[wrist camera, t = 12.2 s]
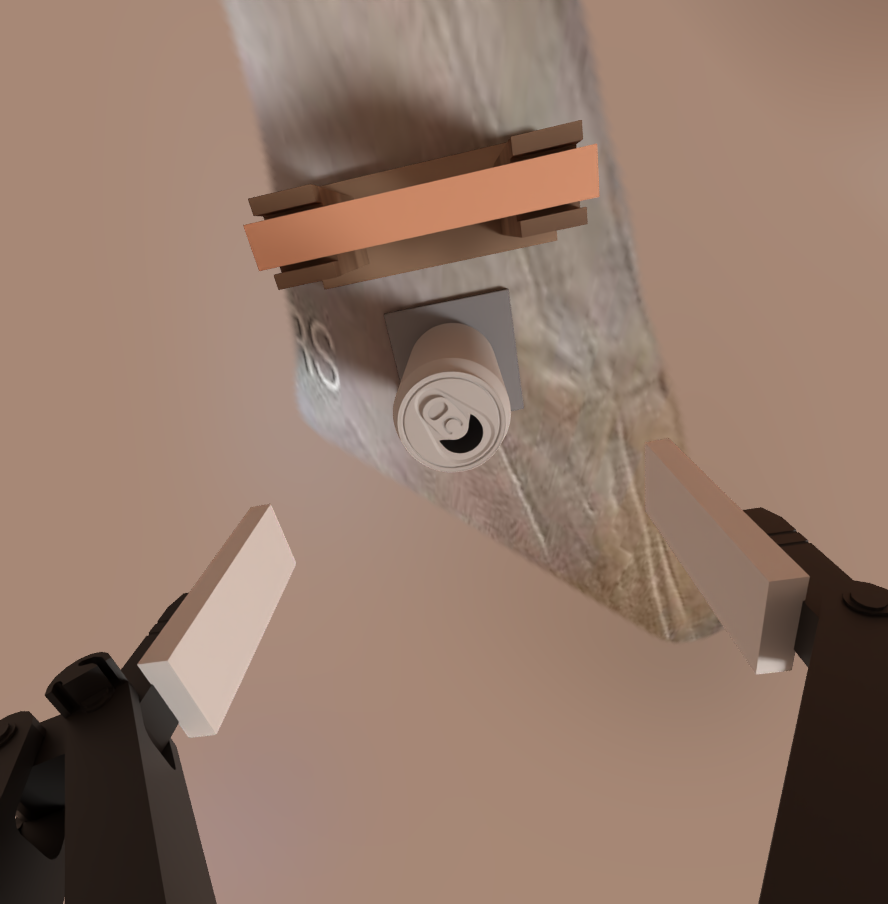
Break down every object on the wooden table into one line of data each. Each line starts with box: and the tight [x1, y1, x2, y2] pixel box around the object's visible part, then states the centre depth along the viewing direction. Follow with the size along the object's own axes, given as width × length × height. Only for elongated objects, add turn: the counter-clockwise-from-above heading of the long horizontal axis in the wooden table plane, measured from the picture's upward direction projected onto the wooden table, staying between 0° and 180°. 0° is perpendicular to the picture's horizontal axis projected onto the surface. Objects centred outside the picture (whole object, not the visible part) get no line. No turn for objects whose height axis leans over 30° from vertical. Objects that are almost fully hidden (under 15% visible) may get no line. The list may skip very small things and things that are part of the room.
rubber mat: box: [384, 289, 524, 411], centre depth 35 cm, size 9×9×1 cm
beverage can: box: [393, 323, 511, 472], centre depth 29 cm, size 6×6×12 cm
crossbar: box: [244, 144, 599, 271], centre depth 21 cm, size 2×16×2 cm, turn 101°
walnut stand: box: [248, 120, 587, 290], centre depth 26 cm, size 6×16×11 cm, turn 101°
